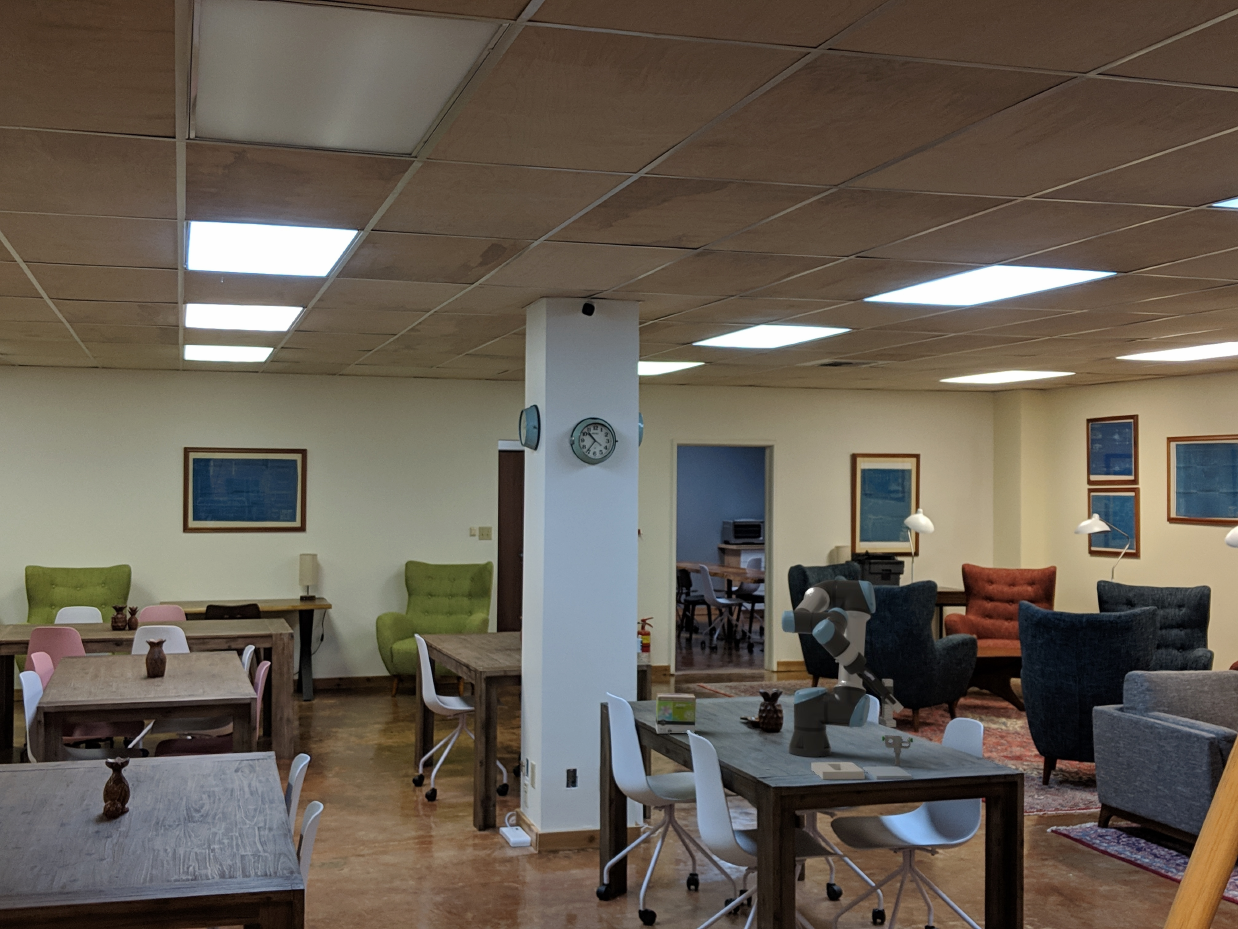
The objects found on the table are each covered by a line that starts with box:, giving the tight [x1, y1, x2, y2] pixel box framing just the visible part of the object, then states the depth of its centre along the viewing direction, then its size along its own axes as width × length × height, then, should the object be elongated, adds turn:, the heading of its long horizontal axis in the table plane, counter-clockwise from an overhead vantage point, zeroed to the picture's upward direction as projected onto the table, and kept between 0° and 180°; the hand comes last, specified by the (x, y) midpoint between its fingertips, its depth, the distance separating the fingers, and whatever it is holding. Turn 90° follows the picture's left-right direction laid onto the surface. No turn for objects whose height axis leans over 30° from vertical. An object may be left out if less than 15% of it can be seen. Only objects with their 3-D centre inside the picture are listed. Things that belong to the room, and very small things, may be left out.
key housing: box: [810, 761, 866, 780], centre depth 385 cm, size 14×14×2 cm
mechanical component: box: [881, 734, 914, 767], centre depth 400 cm, size 3×10×10 cm, turn 78°
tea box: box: [655, 692, 697, 734], centre depth 456 cm, size 15×10×15 cm
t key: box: [878, 678, 897, 728], centre depth 387 cm, size 8×3×15 cm, turn 6°
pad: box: [862, 766, 913, 780], centre depth 386 cm, size 14×12×1 cm
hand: (898, 709), depth 387 cm, fingers closed on t key, 3 cm apart
